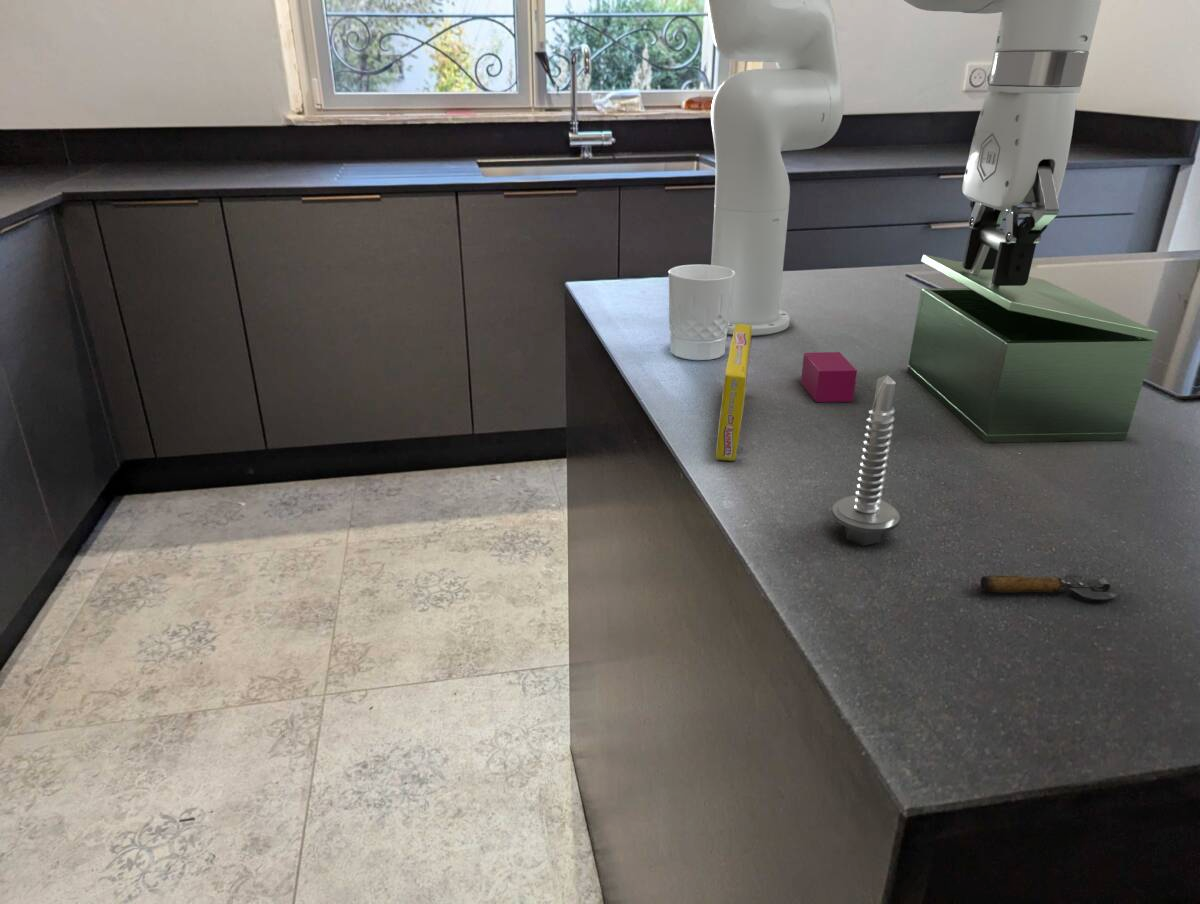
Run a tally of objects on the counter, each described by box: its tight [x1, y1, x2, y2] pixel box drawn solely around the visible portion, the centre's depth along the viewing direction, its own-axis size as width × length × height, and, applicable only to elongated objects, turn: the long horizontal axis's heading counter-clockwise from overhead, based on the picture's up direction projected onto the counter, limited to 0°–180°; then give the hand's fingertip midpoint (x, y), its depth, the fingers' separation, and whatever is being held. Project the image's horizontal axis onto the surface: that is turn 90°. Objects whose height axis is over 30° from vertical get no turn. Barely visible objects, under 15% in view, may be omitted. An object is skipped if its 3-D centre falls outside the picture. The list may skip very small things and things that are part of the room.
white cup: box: [668, 263, 735, 361], centre depth 100 cm, size 8×8×10 cm
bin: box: [906, 287, 1156, 444], centre depth 85 cm, size 14×20×10 cm
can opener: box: [980, 573, 1122, 601], centre depth 56 cm, size 9×2×1 cm, turn 83°
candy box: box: [715, 324, 752, 462], centre depth 79 cm, size 16×2×8 cm, turn 168°
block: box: [800, 351, 858, 403], centre depth 89 cm, size 4×6×4 cm, turn 2°
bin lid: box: [920, 226, 1159, 341], centre depth 81 cm, size 14×20×6 cm
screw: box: [831, 374, 901, 547], centre depth 60 cm, size 13×5×5 cm
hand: (993, 274), depth 81 cm, fingers closed on bin lid, 5 cm apart
